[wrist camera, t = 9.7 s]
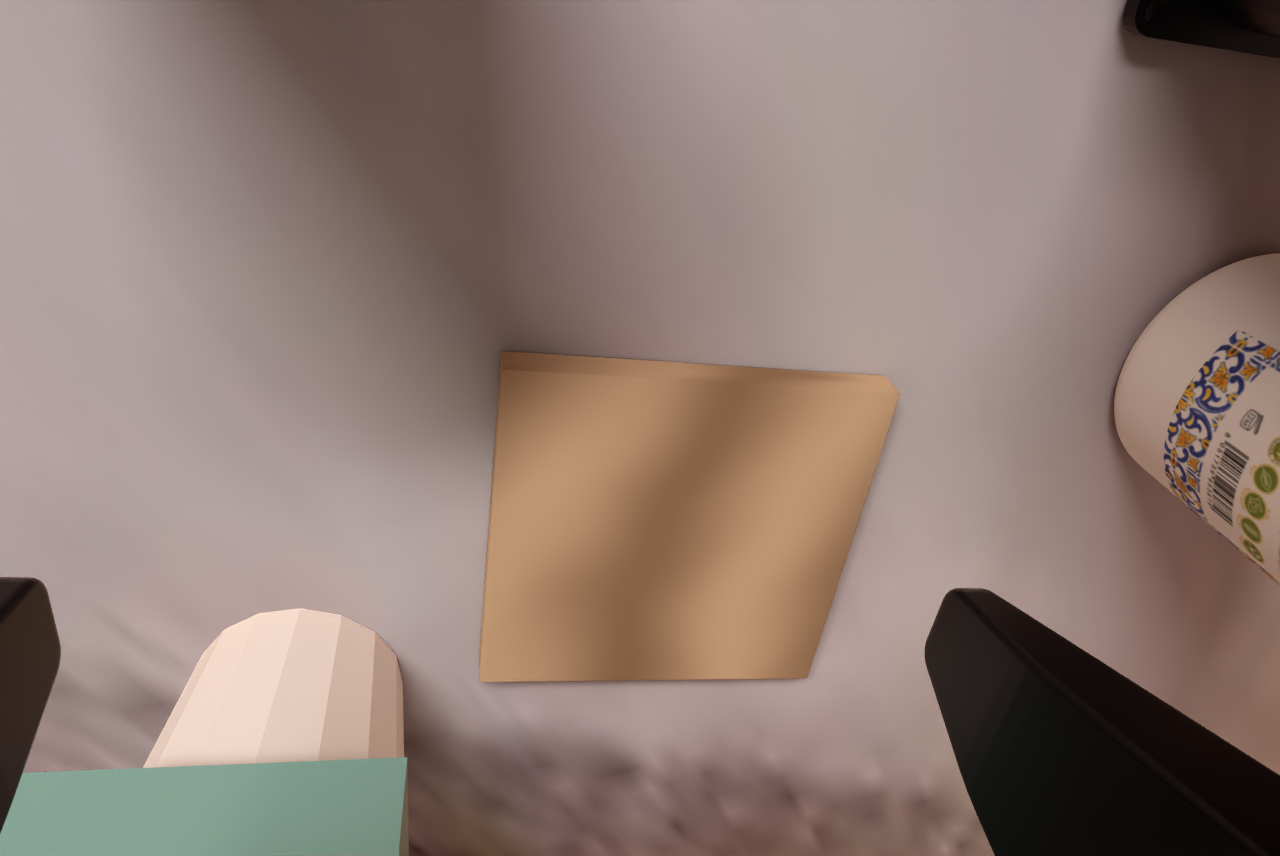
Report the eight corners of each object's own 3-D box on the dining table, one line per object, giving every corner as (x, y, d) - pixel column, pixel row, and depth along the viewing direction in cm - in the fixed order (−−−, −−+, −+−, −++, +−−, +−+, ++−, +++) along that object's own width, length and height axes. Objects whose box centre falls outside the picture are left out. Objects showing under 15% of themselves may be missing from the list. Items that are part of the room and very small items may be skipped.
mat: (884, 375, 23) (900, 393, 22) (797, 654, 28) (806, 677, 27) (501, 350, 21) (501, 369, 20) (479, 656, 26) (479, 681, 25)
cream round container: (429, 594, 24) (412, 814, 18) (418, 760, 28) (400, 992, 22) (161, 586, 23) (49, 824, 17) (184, 763, 26) (96, 1013, 20)
